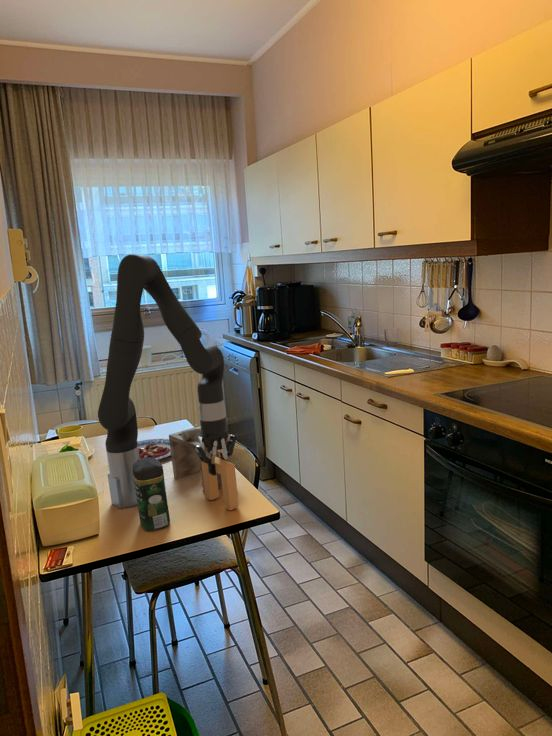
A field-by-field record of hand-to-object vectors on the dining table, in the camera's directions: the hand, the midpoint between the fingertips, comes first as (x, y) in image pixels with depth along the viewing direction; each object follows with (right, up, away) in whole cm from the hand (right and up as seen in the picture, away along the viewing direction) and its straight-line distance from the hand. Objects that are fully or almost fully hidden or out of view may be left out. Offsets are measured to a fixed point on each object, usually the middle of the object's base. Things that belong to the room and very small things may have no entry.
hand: (218, 472), depth 164 cm
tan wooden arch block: (+1, -9, +2) cm, 9 cm away
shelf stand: (-7, -6, +21) cm, 23 cm away
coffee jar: (-17, -13, -7) cm, 23 cm away
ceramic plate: (-32, -3, +51) cm, 60 cm away
